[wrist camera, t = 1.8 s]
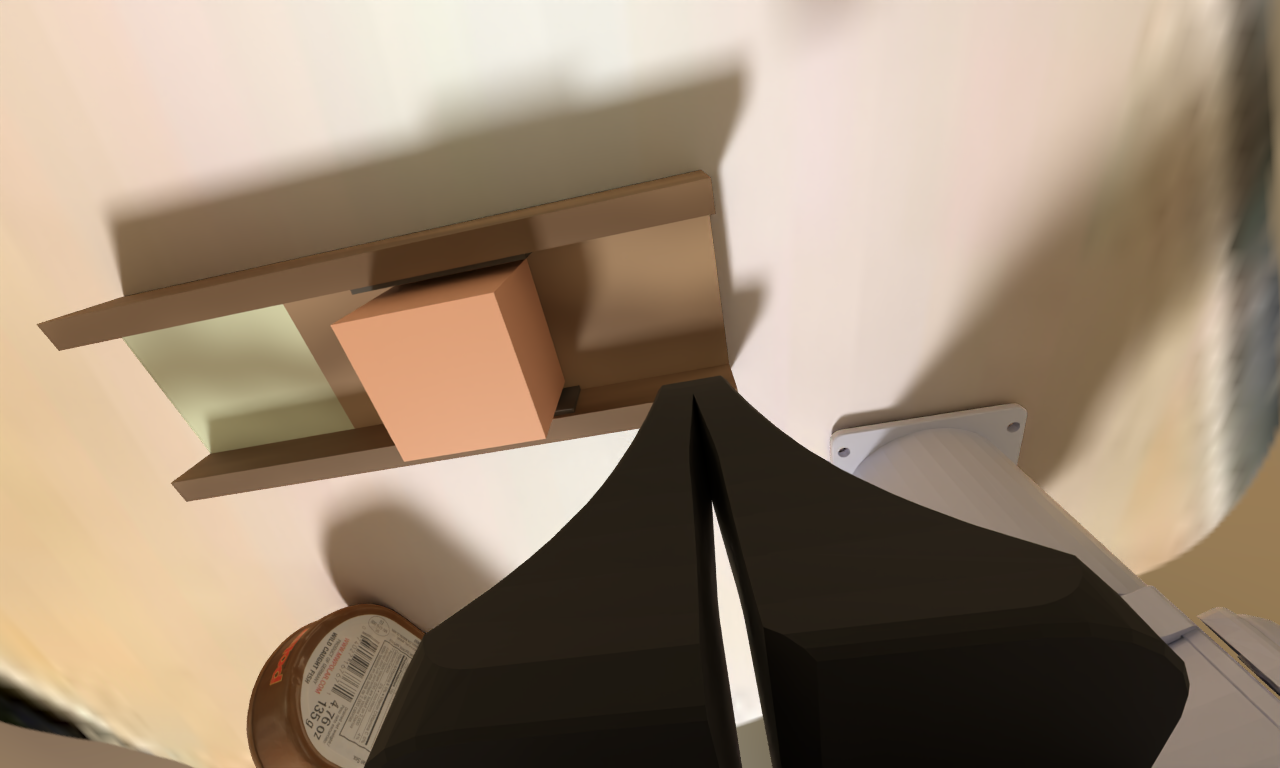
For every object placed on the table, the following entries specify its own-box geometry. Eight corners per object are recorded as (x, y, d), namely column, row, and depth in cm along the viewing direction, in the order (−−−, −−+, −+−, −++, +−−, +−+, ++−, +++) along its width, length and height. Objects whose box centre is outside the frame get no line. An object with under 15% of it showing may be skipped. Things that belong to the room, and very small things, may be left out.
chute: (728, 374, 20) (740, 411, 17) (240, 457, 23) (186, 501, 20) (701, 169, 16) (710, 177, 14) (122, 296, 19) (36, 324, 16)
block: (565, 381, 19) (545, 438, 16) (448, 402, 20) (404, 461, 16) (526, 258, 17) (493, 292, 13) (395, 285, 17) (330, 325, 14)
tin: (316, 588, 27) (189, 764, 20) (353, 567, 26) (235, 742, 19) (495, 714, 33) (450, 886, 25) (530, 700, 32) (494, 874, 24)
